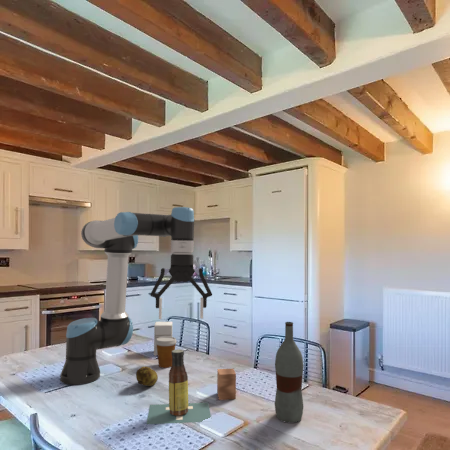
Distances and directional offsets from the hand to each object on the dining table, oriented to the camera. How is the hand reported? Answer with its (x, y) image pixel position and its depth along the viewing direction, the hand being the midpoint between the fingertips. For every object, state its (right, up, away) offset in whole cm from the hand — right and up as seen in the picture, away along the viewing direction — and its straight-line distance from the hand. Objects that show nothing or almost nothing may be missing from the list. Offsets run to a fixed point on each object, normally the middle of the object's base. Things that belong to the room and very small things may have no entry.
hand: (181, 318), depth 124 cm
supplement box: (-17, -34, +66) cm, 76 cm away
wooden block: (+15, -32, +12) cm, 37 cm away
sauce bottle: (-1, -31, -2) cm, 31 cm away
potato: (-16, -32, +22) cm, 42 cm away
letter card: (0, -31, -2) cm, 31 cm away
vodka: (+35, -31, -3) cm, 47 cm away
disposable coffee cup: (-12, -33, +46) cm, 58 cm away
